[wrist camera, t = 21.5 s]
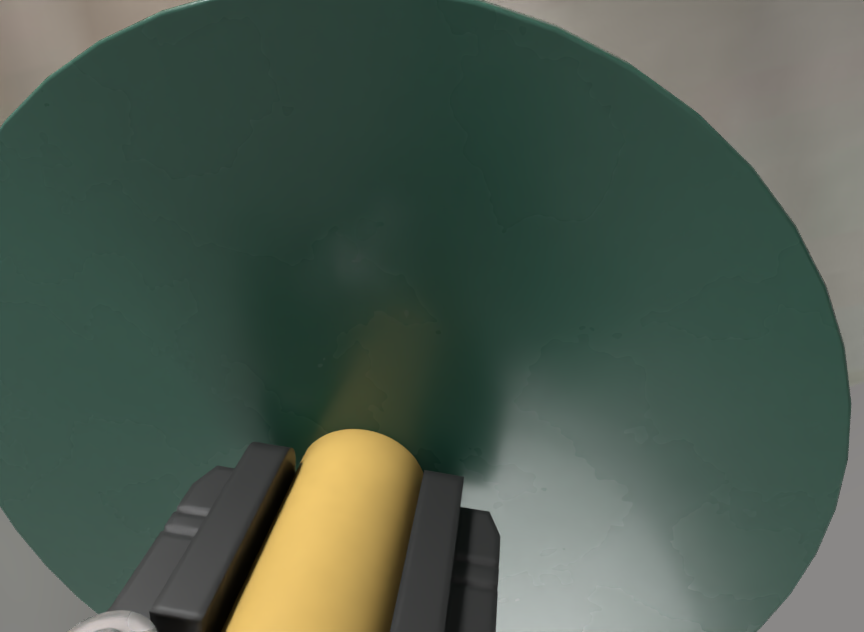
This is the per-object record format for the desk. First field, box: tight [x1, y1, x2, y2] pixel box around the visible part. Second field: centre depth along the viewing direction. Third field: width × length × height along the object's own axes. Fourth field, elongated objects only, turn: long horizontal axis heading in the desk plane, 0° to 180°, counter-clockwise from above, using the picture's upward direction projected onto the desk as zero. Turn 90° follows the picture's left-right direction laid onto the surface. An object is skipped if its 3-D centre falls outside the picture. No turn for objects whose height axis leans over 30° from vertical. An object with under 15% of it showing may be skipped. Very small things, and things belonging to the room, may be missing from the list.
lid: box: [0, 0, 851, 632], centre depth 10 cm, size 17×17×6 cm
